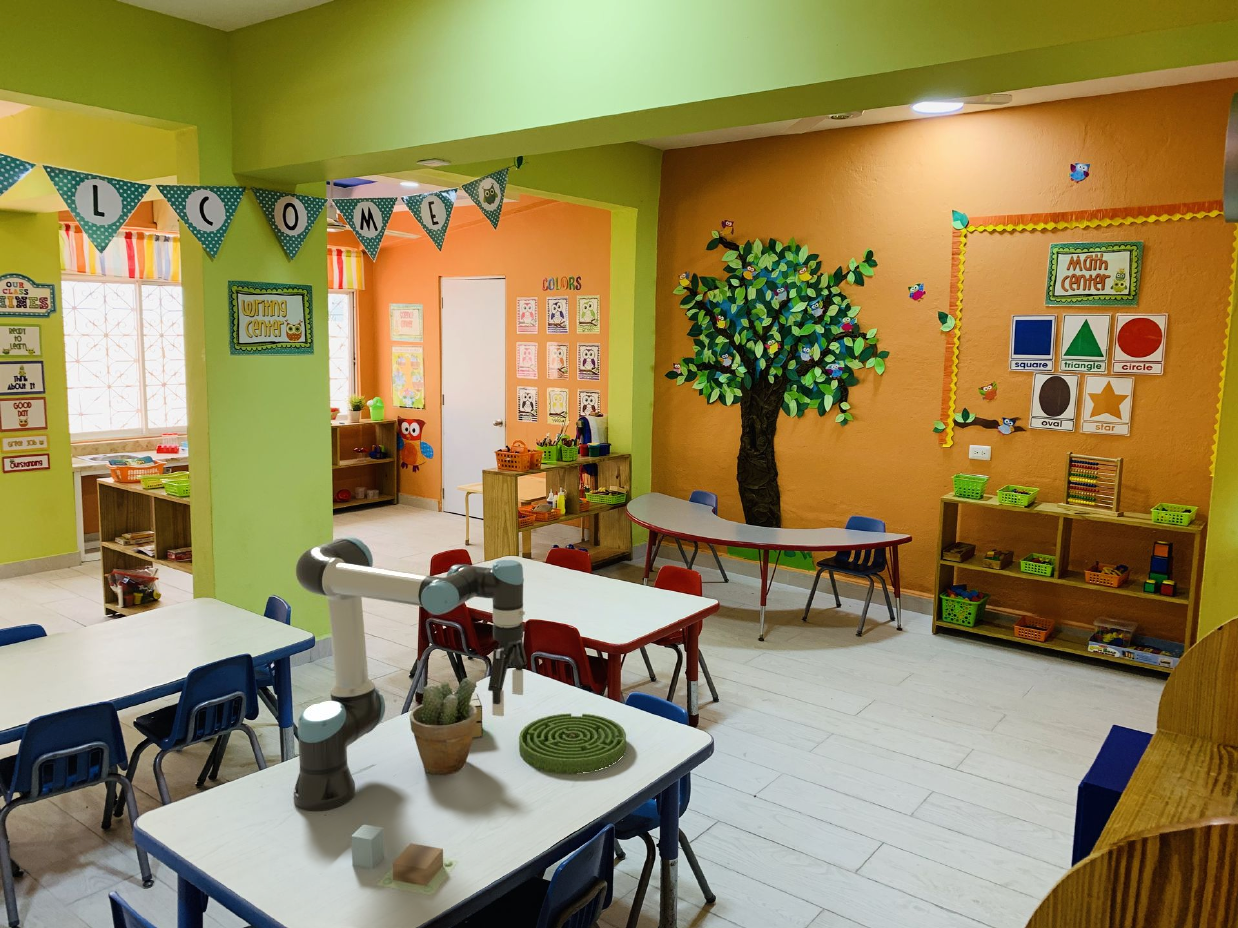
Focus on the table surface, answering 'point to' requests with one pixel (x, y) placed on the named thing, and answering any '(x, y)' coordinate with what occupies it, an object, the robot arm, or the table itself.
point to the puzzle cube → (477, 704)
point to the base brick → (418, 864)
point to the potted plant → (445, 726)
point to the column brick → (367, 846)
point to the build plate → (428, 889)
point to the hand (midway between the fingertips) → (508, 704)
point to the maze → (572, 743)
